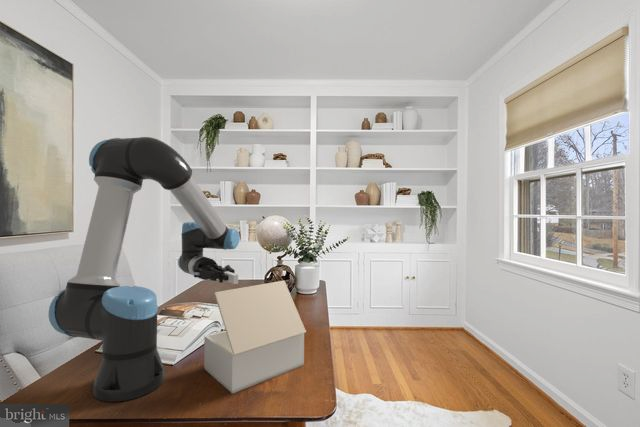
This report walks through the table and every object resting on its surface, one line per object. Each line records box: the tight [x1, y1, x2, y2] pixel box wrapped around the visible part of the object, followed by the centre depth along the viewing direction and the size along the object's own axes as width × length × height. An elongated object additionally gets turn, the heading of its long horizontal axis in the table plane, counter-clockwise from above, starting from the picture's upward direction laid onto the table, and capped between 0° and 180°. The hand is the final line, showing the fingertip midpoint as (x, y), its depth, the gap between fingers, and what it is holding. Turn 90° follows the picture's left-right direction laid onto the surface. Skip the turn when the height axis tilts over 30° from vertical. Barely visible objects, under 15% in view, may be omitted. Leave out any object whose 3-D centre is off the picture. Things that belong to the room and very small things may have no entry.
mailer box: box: [203, 330, 305, 394], centre depth 92 cm, size 22×16×9 cm
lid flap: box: [213, 280, 307, 355], centre depth 89 cm, size 22×16×1 cm
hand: (235, 279), depth 101 cm, fingers closed
